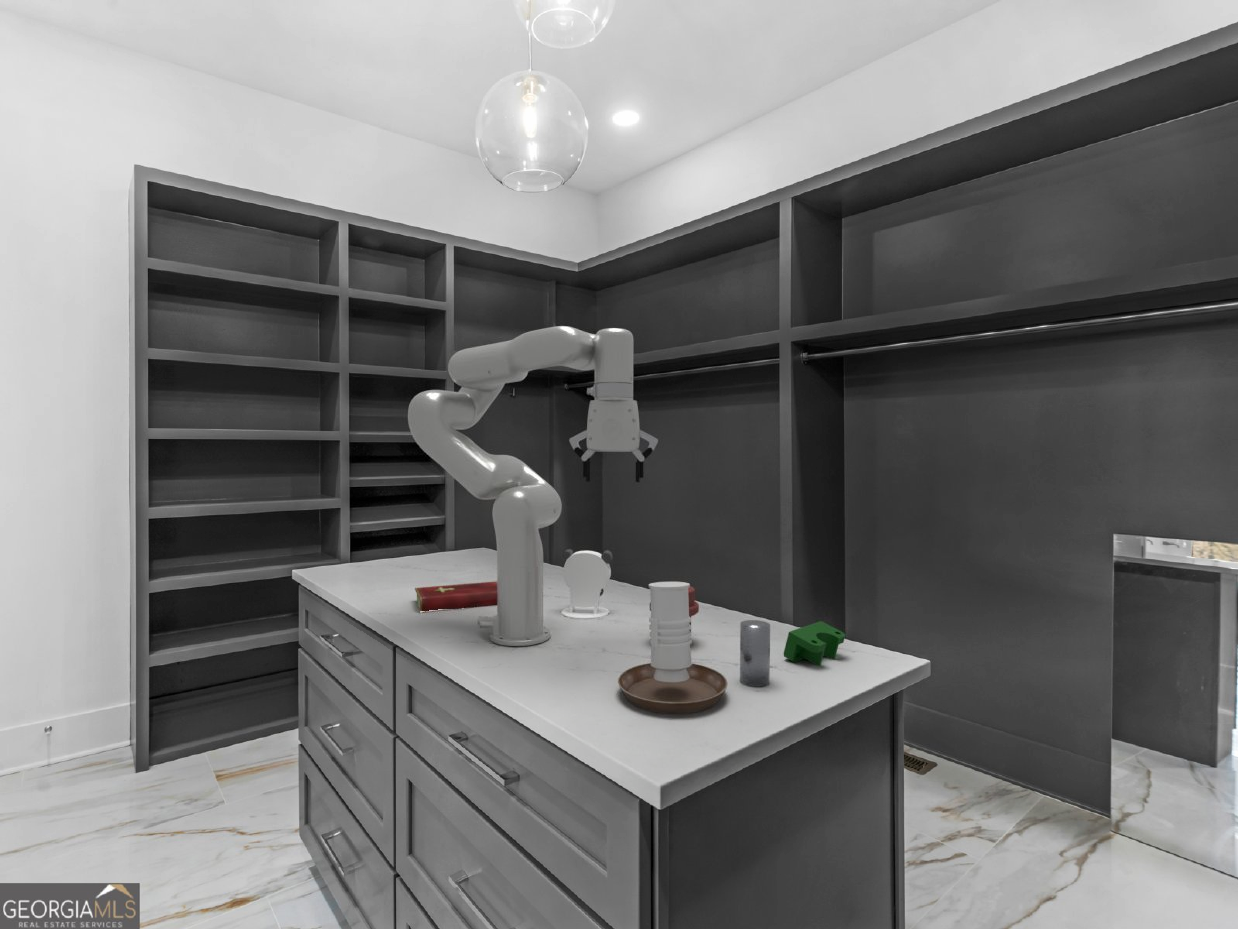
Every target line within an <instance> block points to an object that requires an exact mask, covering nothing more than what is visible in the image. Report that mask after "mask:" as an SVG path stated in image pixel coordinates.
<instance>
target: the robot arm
mask: <svg viewBox="0 0 1238 929" xmlns="http://www.w3.org/2000/svg"><path fill="white" fill-rule="evenodd" d="M551 367H567V368H571V369H574V370H577V371H591V370H594V383H593V386H590V387H587V388H586V394H587V395H590V396H592V397H593V398H594V400H590V401H589V406H588V412H587V422H586V423H587V426H586V429H585V430H584V431H581V432H580V433H578V434H576V435H574V436H572V437H569V440H568V441H569V444H570V446H571V447H572V449H573V452H574V453H575V454H576V456H577V457H579V458H580V459H581V461H582V463H583V464H582V465H583V466H582V467H583V468H582V476H583V478H585V482H586V483H589V482H592V480H593V461H592V460H591V458H592V456H593V455H595V453H596V452H602V453H603V452H607V453H608V452H610V453H611V452H613V453H617V452H619V453H620V452H623V453H625V452H626V453H627V452H628V453H629V452H632V454H633V455H634V456H635V458H636V462H635V483H640V482H641V479H644V473H645V472H644V471H645V469H644V468H645V465H644V464H645V463H644V461H645V460H646V459H647V458H648V457H650V455H652V453H654V450H655V449H656V446H657V445H658V443H659V439H658V438H656V437H654V436H653V435H651V434H649V433H647V432H645V431H643V430H641V428H640V416H639V409H638V401H637V400H634V335H633V333H632V332H631V331H630V330H627V329H626V328H619V327H618V328H617V327H610V328H602V329H599V330H598V331H597V332H596V334H595V333H589V332H587V331H584V330H580V329H579V328H575V327H573V326H567V325H566V326H565V325H559V326H551V327H545V328H540V329H535V330H530V331H528V332H524V333H522V334H520V335H518V336H516V337H514V338H513V339H510V340H507V341H505V340H504V341H501V342H495V343H491V344H490V343H489V344H486V345H485V344H484V345H479V346H474V347H468V348H464V349H461V350H458V351H457V352H455V353H454V354H453V355H452V356H451V357H450V359H449V361H448V364H447V371H448V374H449V376H450V378H451V380H452V381H453V382H454V383H455V384H457V385H458V386H460V387H461V388H460V389H459V390H458V391H450V390H443V389H430V390H425V391H421V392H419V393H417V394H416V395H414V397H413V398H412V399H411V400H410V403H409V405H408V410H407V422H408V428H409V431H410V433H411V436H412V438H413V440H414V441H415V443H416V444H417V445H418V446H419V448H420V449H421V450H422V451H423V452H424V453H426V455H428V456H429V457H430V459H432V460H433V461H435V462H436V463H437V464H438V465H440V467H441V468H442V469H444V470H445V471H446V472H447V473H448V474H449V475H450V476H451V477H452V478H453V479H454V480H455V481H457V482H458V483H459V484H460V485H461V486H462V487H463V488H464V489H466V490H467V492H469V493H470V494H471V495H472V496H473V497H474V498H477V499H479V500H484V501H485V500H487V501H488V500H494V503H493V505H492V506H493V507H492V522H493V527H494V532H495V540H496V570H497V572H496V574H497V575H496V577H497V578H496V581H497V605H496V606H497V607H496V612H497V613H496V614H495V615H493V616H484V615H483V616H482V615H481V616H478V618H477V625H478V626H479V627H480V629H488V628H490V629H491V631H490V632H489V640H490V641H491V642H492V643H495V644H497V645H501V646H508V647H527V646H533V645H537V644H538V645H539V644H540V643H541V644H542V643H545V642H546V641H548V640H549V639H550V638H551V632H552V631H551V629H550V628H548V627H547V626H544V547H543V544H542V543H543V542H542V539H541V536H540V531H539V529H543V528H546V527H549V526H550V525H553V524H554V523H556V521H557V520H559V518H560V516H561V513H562V508H563V507H562V506H563V505H562V500H561V497H560V494H558V492H557V491H556V489H555V488H554V487H553V486H552V485H550V483H548V482H547V481H546V480H545V479H544V478H542V476H540V475H539V474H538V473H537V472H536V471H534V470H533V469H532V468H531V467H530V466H528V464H526V463H525V462H524V461H522V460H521V459H520V458H519V459H518V458H517V457H515V456H512V455H509V454H491V453H489V452H486V450H484V449H483V448H481V447H480V446H479V445H478V444H476V443H475V442H474V441H473V440H472V439H471V438H470V437H468V436H467V435H465V434H464V433H462V432H460V430H467V429H470V428H473V426H474V425H476V424H477V423H478V422H479V421H480V420H481V418H482V417H484V414H485V413H486V412H487V410H488V409H489V408H490V406H492V403H493V402H494V401H495V400H496V399H497V397H498V395H499V394H500V393H501V392H502V390H503V388H504V387H505V384H510V383H516V382H522V381H523V380H524V379H525V378H526V377H527V376H528V373H529V372H532V371H534V370H540V369H545V368H551ZM458 430H459V431H458ZM585 439H586V448H587V450H585V451H584V450H583V449H582V448H581V446H580V444H579V442H580V441H583V440H585ZM641 439H643V440H645V441H647V442H648V444H649V445H648V447H647V448H646V449H645V450H644V451H643V452H642V451H641V450H640V442H641Z"/></svg>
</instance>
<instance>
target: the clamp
mask: <svg viewBox="0 0 1238 929" xmlns="http://www.w3.org/2000/svg"><path fill="white" fill-rule="evenodd" d="M845 637H846V634H845V633H844V632H843V631H842V630H839V629H838V628H836V627H833V626H831V625H829V624H827V623H826V622H824V621H822V620H820V621H817V622H814V623H811V624H809V625H805V626H803V627H800V628H796V629H793V630H791V631H788V635H787V639H786V641H785V647H784V649H783V650H784V651H783V657H784V658H786V659H788V660H789V661H791V662H792V663H796V662H799V661H802V660H804V659H805V660H807V661H809V662H811V663H812V664H814V665H816V666H819V665H820V666H821V665H822V661H823V657H824V656H825V657H826V658H829V659H831V660H832V661H833V660H835V659H836V655H837V653H838V648H839V645H841V644H843V643H844V642H845V639H846V638H845Z"/></svg>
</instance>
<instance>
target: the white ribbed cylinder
mask: <svg viewBox="0 0 1238 929" xmlns="http://www.w3.org/2000/svg"><path fill="white" fill-rule="evenodd" d="M690 586H691V584H690V583H688V582H683V581H678V582H669V581H658V582H657V581H656V582H651V583H649V584H648V588H649V589H650V590H649V591H650V593H649V595H650V602H651V611H650V617H648V622H649V623H650V624H649V627H648V628H649V631H650V632H649V635H648V636H649V637H650V638H649V645H650V646H651V647H650V651H651V652H650V663H651V666H652V667H654V668H657V669H656V671H655V674H654V679H655V680H658V681H662V682H681V681H685V680H688V679H689V678H690V677H689V674H688V672H687V670H686V668H689V667H690V666H691V665H692V663H693V660H692V651H691V644H692V643H693V642H692V638H691V637H692V624H691V625H690V624H689V623H690V622H691V623H692V617H691V618H690V617H689V597H688V588H689V587H690ZM689 630H691V632H690V631H689Z"/></svg>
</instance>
